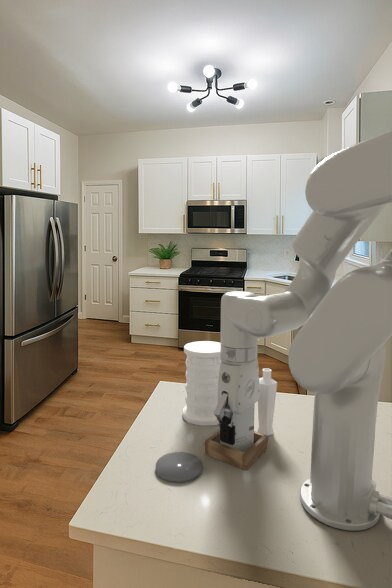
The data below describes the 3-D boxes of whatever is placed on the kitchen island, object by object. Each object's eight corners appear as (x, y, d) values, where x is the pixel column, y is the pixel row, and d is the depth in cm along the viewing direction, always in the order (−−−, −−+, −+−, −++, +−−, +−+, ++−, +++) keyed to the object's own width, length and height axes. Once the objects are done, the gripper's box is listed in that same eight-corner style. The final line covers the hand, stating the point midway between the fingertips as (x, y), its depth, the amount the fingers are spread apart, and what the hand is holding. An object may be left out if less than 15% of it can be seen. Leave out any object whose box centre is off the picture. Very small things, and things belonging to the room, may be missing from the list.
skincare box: (232, 461, 76) (233, 403, 75) (218, 450, 80) (219, 396, 79) (254, 451, 80) (256, 396, 78) (241, 442, 84) (242, 389, 82)
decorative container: (176, 422, 93) (176, 351, 90) (189, 403, 104) (189, 339, 101) (223, 428, 90) (225, 354, 87) (231, 408, 101) (232, 342, 99)
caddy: (267, 448, 81) (268, 435, 81) (245, 470, 73) (246, 455, 73) (229, 435, 87) (229, 422, 86) (205, 453, 79) (205, 440, 79)
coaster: (211, 465, 75) (211, 461, 75) (182, 489, 68) (182, 484, 68) (175, 450, 80) (175, 447, 80) (145, 471, 73) (145, 467, 73)
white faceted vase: (251, 428, 90) (252, 367, 88) (267, 426, 91) (269, 365, 89) (260, 438, 85) (262, 374, 83) (277, 435, 87) (279, 372, 85)
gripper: (232, 367, 68) (231, 460, 70) (273, 346, 82) (271, 424, 84) (198, 359, 72) (198, 447, 75) (243, 341, 86) (241, 415, 89)
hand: (236, 434), depth 80 cm, fingers closed on skincare box, 7 cm apart
